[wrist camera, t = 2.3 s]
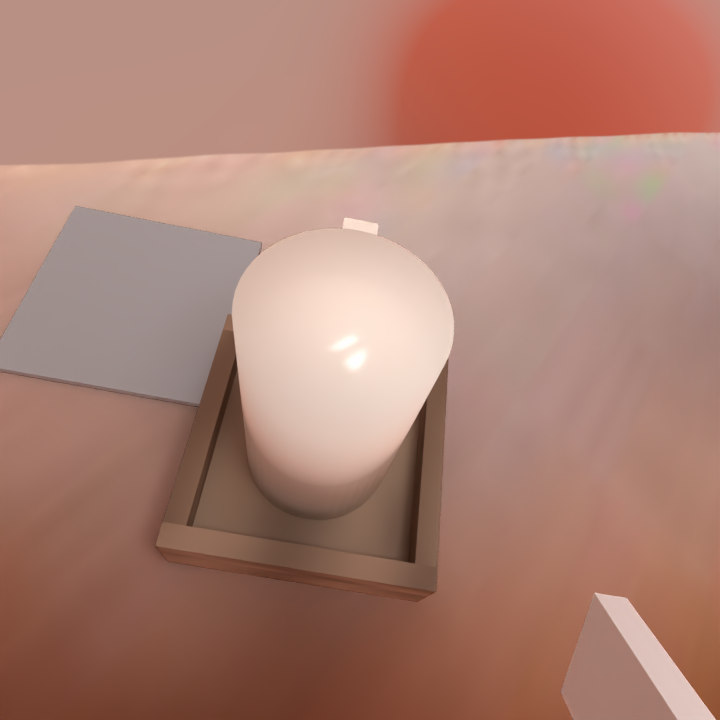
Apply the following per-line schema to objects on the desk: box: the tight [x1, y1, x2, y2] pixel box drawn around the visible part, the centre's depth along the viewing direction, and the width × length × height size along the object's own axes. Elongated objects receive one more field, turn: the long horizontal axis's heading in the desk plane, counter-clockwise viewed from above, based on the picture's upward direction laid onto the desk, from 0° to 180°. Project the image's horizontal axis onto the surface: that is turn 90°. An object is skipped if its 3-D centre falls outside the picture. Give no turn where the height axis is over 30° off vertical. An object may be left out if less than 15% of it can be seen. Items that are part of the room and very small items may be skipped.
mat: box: [0, 206, 262, 407], centre depth 33 cm, size 12×12×1 cm
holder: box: [155, 314, 448, 602], centre depth 28 cm, size 12×12×4 cm
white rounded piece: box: [232, 217, 454, 520], centre depth 23 cm, size 7×10×12 cm
